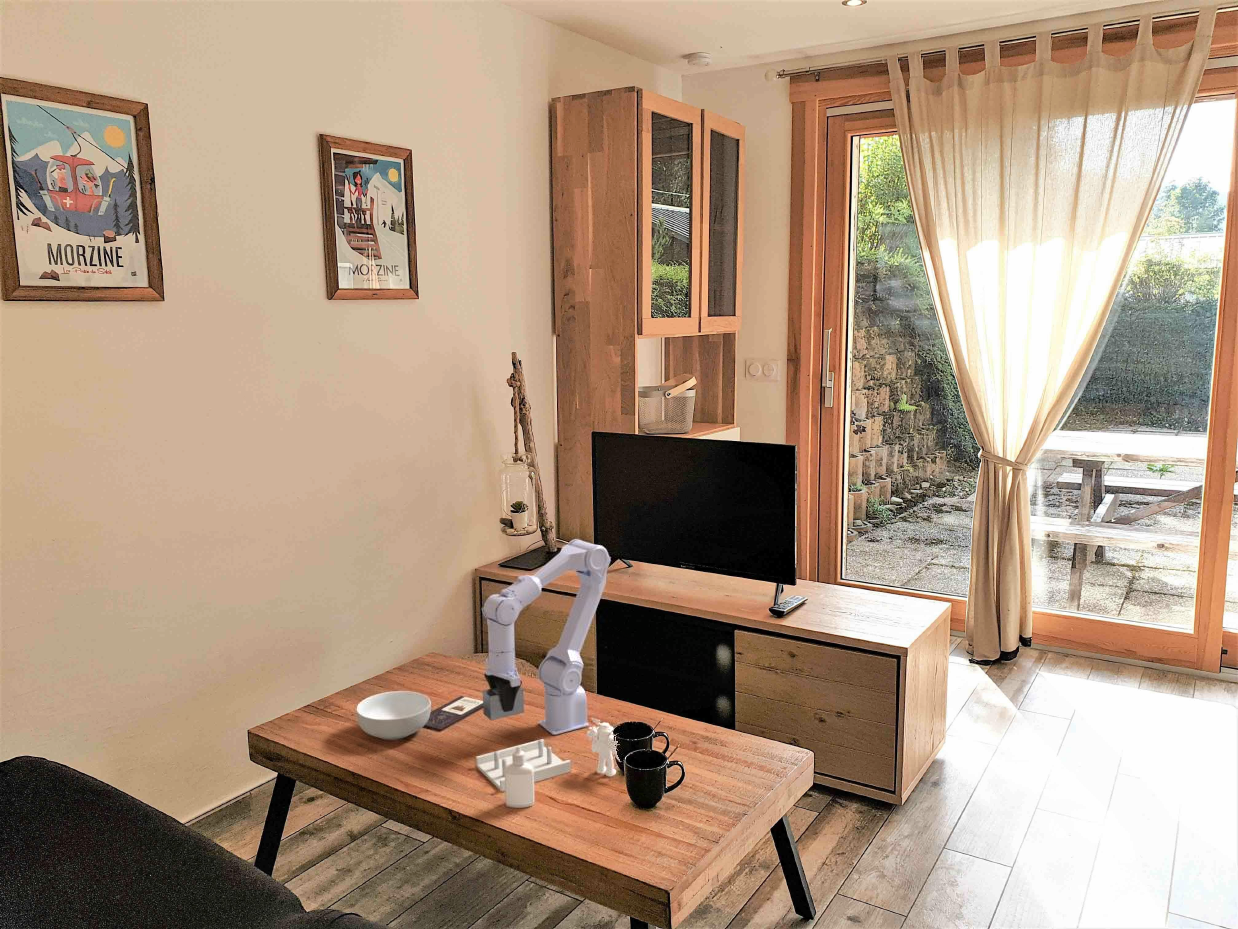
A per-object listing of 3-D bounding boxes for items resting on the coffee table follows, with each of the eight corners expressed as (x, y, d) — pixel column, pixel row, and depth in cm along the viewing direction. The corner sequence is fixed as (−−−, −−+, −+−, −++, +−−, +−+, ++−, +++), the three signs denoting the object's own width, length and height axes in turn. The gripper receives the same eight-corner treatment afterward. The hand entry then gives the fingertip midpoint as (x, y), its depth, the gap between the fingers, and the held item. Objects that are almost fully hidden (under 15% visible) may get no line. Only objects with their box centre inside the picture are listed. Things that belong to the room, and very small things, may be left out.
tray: (543, 748, 212) (542, 730, 212) (571, 771, 202) (570, 752, 201) (476, 766, 204) (475, 748, 204) (501, 791, 193) (501, 771, 193)
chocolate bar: (411, 721, 227) (460, 696, 242) (412, 725, 227) (461, 699, 242) (440, 729, 222) (489, 702, 238) (441, 733, 222) (489, 706, 238)
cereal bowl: (389, 755, 210) (388, 725, 209) (342, 736, 220) (340, 707, 219) (447, 729, 224) (445, 700, 223) (400, 712, 234) (398, 684, 233)
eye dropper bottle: (525, 812, 185) (523, 754, 183) (501, 805, 188) (499, 748, 186) (538, 802, 189) (536, 745, 187) (514, 796, 192) (513, 739, 190)
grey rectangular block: (516, 706, 217) (515, 682, 217) (524, 712, 214) (523, 688, 213) (483, 714, 213) (482, 690, 213) (490, 720, 210) (490, 696, 209)
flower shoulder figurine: (583, 770, 202) (582, 716, 200) (595, 763, 205) (594, 710, 203) (617, 782, 197) (616, 727, 195) (629, 775, 200) (628, 720, 198)
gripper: (472, 642, 216) (474, 700, 218) (498, 661, 203) (500, 722, 205) (501, 637, 219) (503, 693, 221) (528, 655, 207) (530, 715, 209)
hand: (503, 707), depth 213 cm, fingers closed on grey rectangular block, 4 cm apart
